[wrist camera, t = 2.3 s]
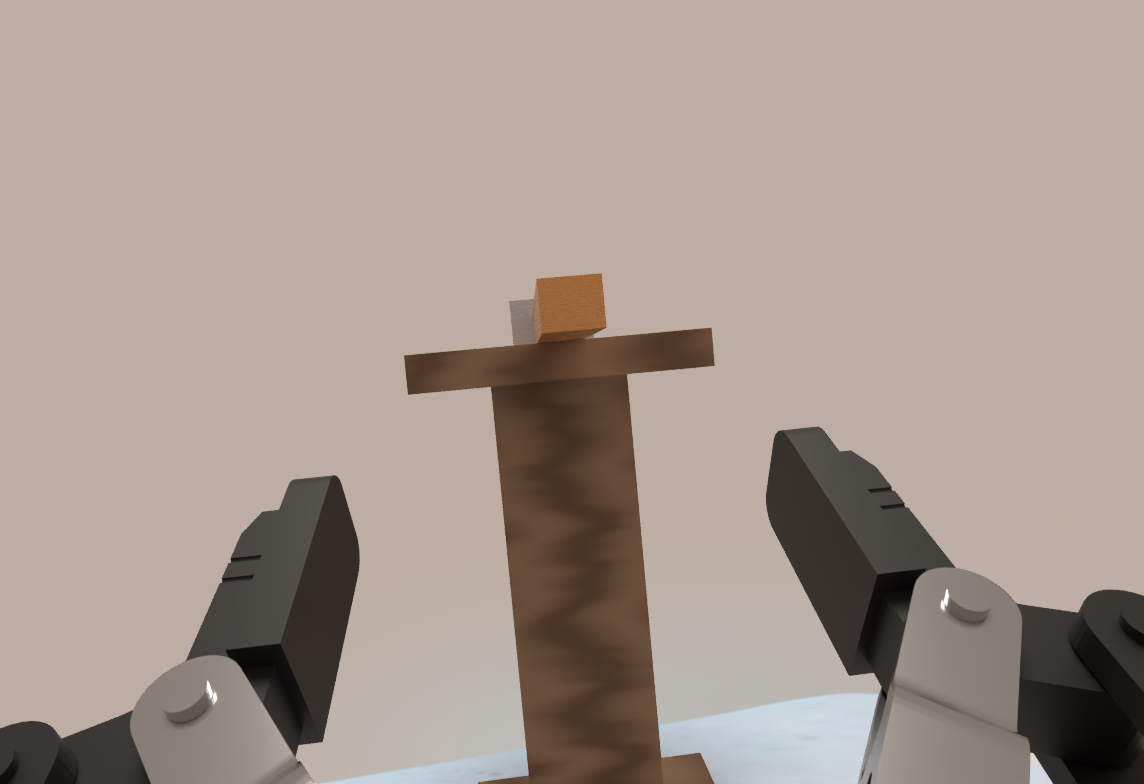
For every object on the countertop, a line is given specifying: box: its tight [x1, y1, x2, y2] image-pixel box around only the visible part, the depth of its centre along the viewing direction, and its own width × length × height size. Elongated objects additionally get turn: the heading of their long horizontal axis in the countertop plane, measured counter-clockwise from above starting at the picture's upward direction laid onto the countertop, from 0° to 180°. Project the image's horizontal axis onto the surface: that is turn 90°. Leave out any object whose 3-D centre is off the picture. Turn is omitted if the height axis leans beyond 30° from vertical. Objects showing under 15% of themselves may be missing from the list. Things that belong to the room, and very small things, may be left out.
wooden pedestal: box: [404, 328, 714, 784], centre depth 41 cm, size 16×12×32 cm
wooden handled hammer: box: [510, 274, 606, 346], centre depth 36 cm, size 5×22×3 cm, turn 4°
